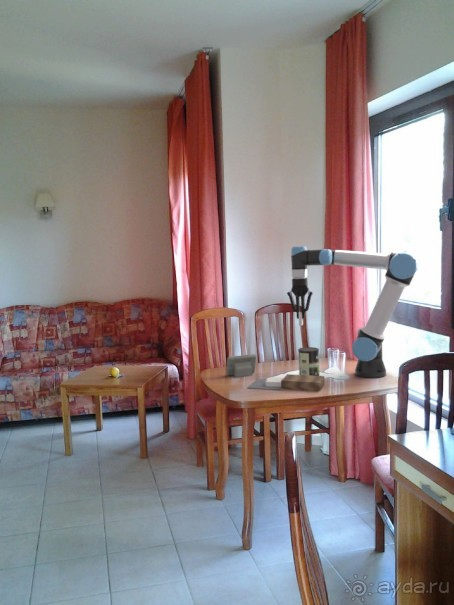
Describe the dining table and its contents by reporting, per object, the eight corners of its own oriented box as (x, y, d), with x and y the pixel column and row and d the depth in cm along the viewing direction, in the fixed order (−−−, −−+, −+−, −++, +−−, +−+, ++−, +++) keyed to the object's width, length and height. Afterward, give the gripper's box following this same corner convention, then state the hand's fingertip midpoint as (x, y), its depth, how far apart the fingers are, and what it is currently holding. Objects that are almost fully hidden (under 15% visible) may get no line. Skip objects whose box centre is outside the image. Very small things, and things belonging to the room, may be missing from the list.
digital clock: (255, 372, 281) (254, 352, 279) (258, 376, 272) (257, 355, 270) (225, 374, 279) (224, 354, 278) (227, 378, 270) (226, 357, 269)
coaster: (285, 382, 255) (285, 377, 255) (282, 386, 248) (282, 382, 247) (269, 381, 258) (269, 377, 257) (265, 386, 250) (265, 381, 250)
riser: (324, 384, 250) (324, 376, 250) (319, 391, 239) (319, 382, 239) (287, 382, 257) (287, 374, 256) (281, 389, 246) (281, 380, 245)
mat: (288, 381, 259) (288, 380, 259) (280, 390, 244) (280, 389, 244) (257, 379, 264) (257, 378, 264) (247, 388, 249) (247, 387, 249)
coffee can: (319, 374, 270) (319, 347, 268) (319, 379, 260) (318, 351, 258) (299, 374, 272) (298, 347, 271) (298, 379, 262) (297, 351, 261)
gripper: (314, 277, 261) (315, 324, 264) (288, 277, 266) (289, 323, 268) (311, 278, 254) (312, 326, 257) (284, 278, 259) (286, 326, 261)
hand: (301, 325), depth 262 cm, fingers closed
